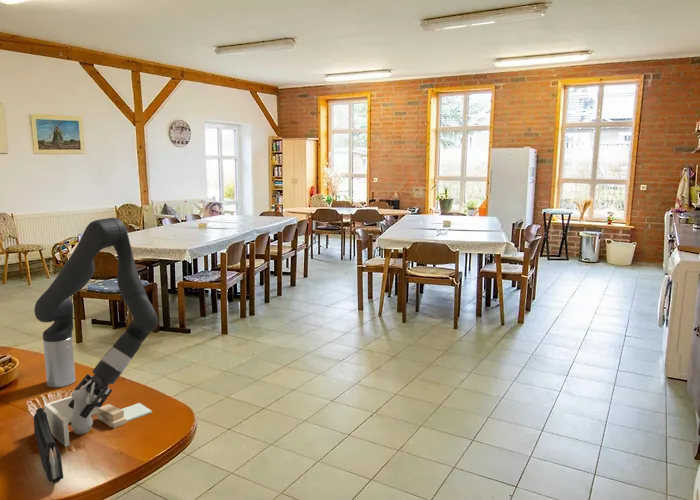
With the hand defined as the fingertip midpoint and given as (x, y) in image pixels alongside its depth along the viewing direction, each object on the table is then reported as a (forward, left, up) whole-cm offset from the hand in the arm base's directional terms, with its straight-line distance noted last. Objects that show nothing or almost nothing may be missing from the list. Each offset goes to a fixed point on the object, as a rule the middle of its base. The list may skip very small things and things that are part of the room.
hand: (76, 412), depth 157 cm
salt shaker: (0, +1, -7) cm, 7 cm away
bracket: (-2, +2, -7) cm, 7 cm away
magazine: (+10, -12, -7) cm, 17 cm away
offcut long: (0, +10, -7) cm, 12 cm away
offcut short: (0, +10, -5) cm, 11 cm away
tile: (0, +17, -7) cm, 19 cm away
